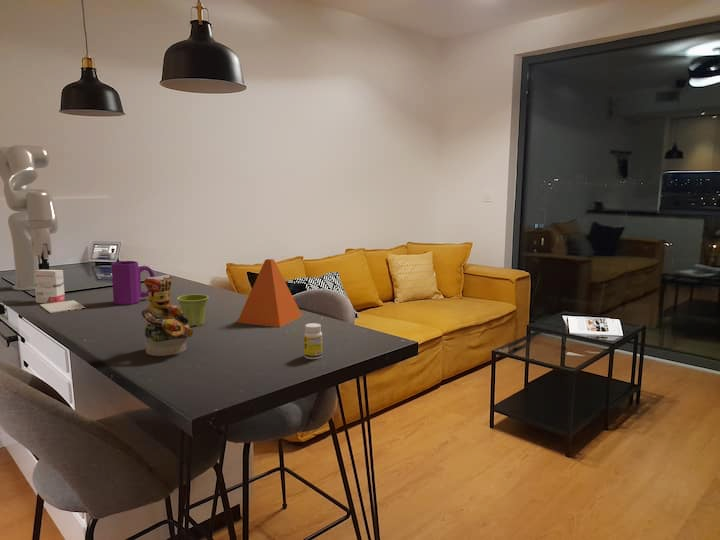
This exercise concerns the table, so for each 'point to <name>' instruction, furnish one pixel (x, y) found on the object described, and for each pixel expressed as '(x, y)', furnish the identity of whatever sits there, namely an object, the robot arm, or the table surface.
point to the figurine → (164, 320)
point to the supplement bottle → (313, 341)
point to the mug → (128, 282)
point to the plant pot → (193, 308)
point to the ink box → (49, 286)
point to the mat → (61, 306)
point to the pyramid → (270, 299)
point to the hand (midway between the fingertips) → (44, 273)
